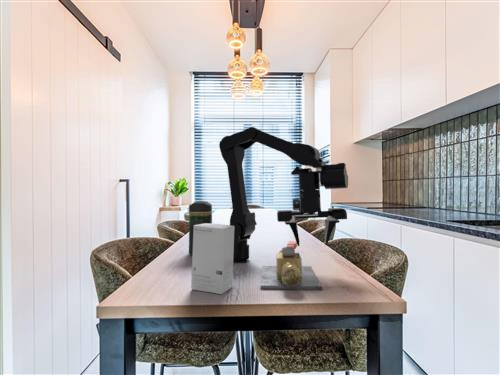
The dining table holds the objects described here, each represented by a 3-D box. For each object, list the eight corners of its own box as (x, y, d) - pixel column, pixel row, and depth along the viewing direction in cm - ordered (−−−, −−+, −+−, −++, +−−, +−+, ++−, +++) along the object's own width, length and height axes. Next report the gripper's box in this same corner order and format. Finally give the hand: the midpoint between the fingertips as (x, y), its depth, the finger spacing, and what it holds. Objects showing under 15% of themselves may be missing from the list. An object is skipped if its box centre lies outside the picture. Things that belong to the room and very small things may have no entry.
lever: (293, 256, 71) (293, 250, 71) (281, 255, 72) (281, 249, 72) (298, 246, 82) (298, 241, 82) (287, 246, 83) (287, 240, 83)
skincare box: (190, 290, 65) (190, 225, 65) (204, 281, 70) (204, 222, 70) (223, 295, 62) (223, 227, 61) (235, 286, 67) (234, 223, 67)
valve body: (322, 291, 63) (322, 265, 63) (260, 290, 64) (260, 265, 64) (310, 268, 81) (310, 248, 81) (261, 267, 82) (261, 247, 82)
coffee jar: (210, 256, 96) (210, 201, 96) (186, 256, 96) (186, 201, 95) (213, 249, 105) (213, 200, 105) (192, 250, 105) (192, 200, 105)
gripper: (336, 188, 87) (338, 239, 87) (275, 191, 88) (277, 241, 88) (346, 188, 76) (349, 246, 76) (276, 191, 77) (279, 248, 77)
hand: (312, 245), depth 79 cm, fingers open, 7 cm apart
